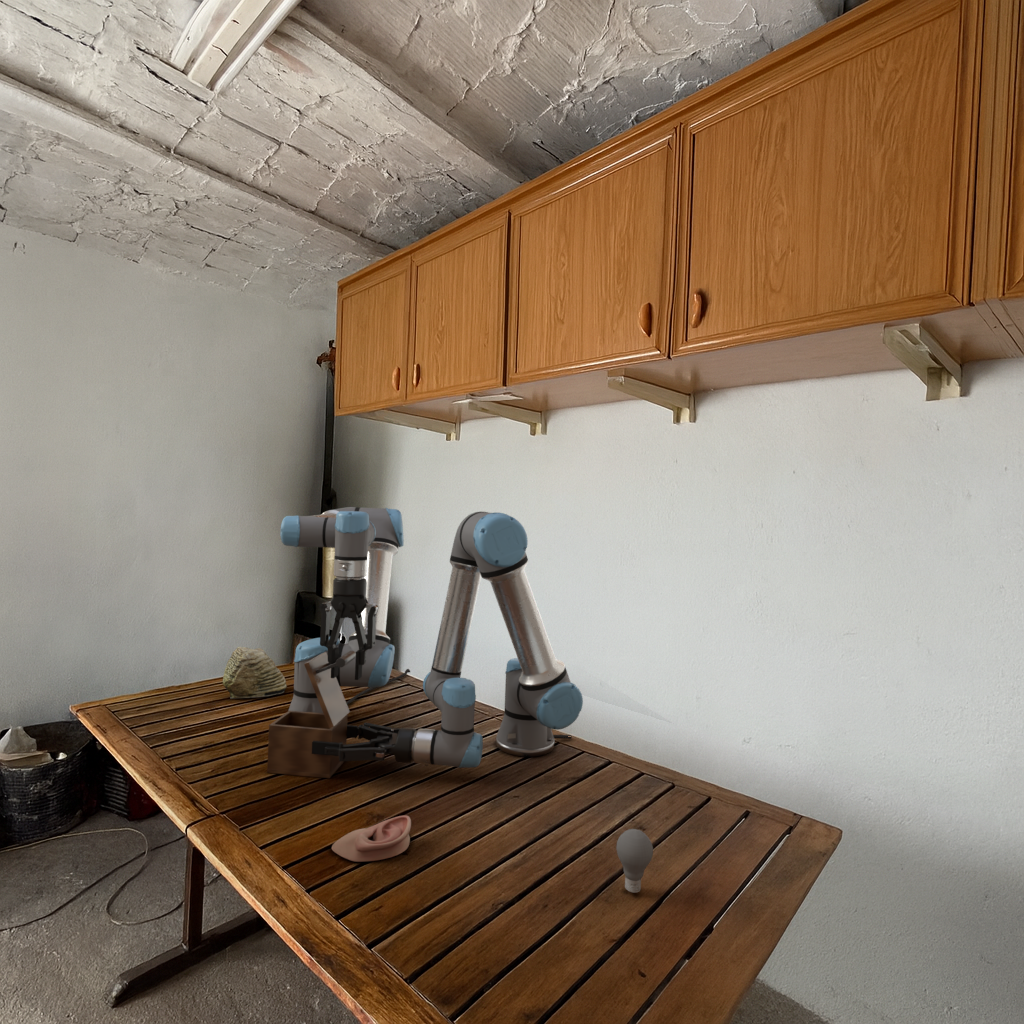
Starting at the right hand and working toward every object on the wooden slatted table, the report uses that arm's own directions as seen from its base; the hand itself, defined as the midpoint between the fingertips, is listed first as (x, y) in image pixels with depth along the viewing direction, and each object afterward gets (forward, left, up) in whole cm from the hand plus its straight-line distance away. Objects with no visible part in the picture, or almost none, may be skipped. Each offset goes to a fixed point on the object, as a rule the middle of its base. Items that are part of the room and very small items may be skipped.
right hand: (322, 738), depth 148 cm
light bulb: (-47, +62, -7) cm, 78 cm away
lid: (0, 0, +11) cm, 11 cm away
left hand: (-5, +2, +15) cm, 16 cm away
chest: (+3, -1, -7) cm, 8 cm away
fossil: (+17, -59, -7) cm, 62 cm away
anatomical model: (-7, +37, -7) cm, 38 cm away
